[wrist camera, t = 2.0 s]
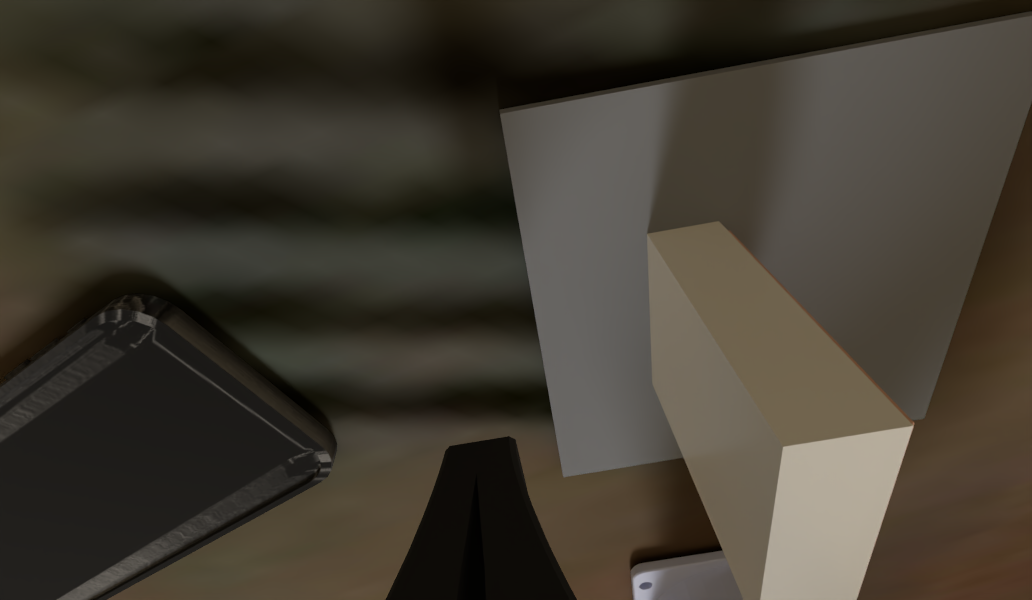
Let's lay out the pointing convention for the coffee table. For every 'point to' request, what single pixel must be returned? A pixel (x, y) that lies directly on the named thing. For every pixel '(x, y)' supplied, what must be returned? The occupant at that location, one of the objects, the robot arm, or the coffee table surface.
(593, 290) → the mat
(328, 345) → the coffee table surface
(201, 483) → the phone
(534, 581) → the robot arm
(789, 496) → the tile
